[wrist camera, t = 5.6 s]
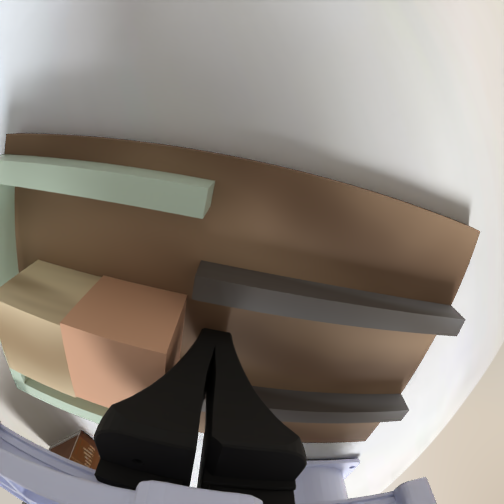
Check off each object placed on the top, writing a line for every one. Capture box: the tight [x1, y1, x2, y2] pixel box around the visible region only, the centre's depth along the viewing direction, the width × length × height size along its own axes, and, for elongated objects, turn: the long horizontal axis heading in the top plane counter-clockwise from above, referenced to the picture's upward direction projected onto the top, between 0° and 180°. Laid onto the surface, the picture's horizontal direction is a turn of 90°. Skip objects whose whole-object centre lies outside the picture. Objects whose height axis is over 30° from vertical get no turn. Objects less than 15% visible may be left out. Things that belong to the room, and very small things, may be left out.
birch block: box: [0, 260, 101, 398], centre depth 11 cm, size 4×4×4 cm
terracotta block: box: [60, 275, 187, 408], centre depth 11 cm, size 4×4×4 cm
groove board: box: [5, 133, 480, 443], centre depth 13 cm, size 16×24×2 cm, turn 78°
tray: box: [0, 154, 215, 424], centre depth 12 cm, size 14×11×2 cm
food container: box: [22, 430, 100, 504], centre depth 16 cm, size 12×6×10 cm, turn 131°
